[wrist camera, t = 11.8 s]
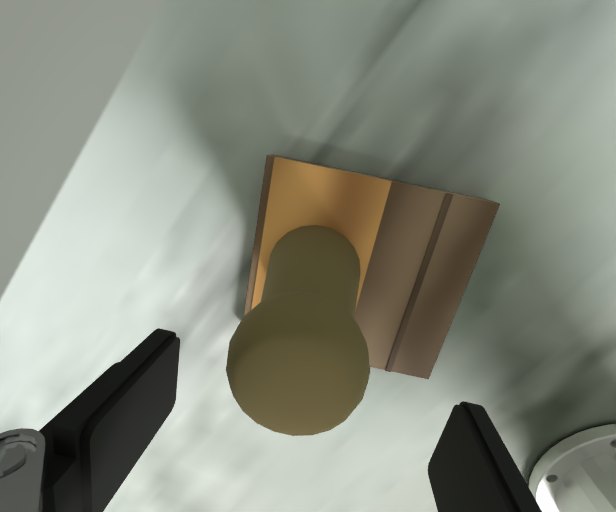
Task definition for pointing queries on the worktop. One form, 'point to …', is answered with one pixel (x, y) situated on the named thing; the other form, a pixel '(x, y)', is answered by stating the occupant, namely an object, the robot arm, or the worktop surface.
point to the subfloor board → (381, 251)
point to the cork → (302, 337)
